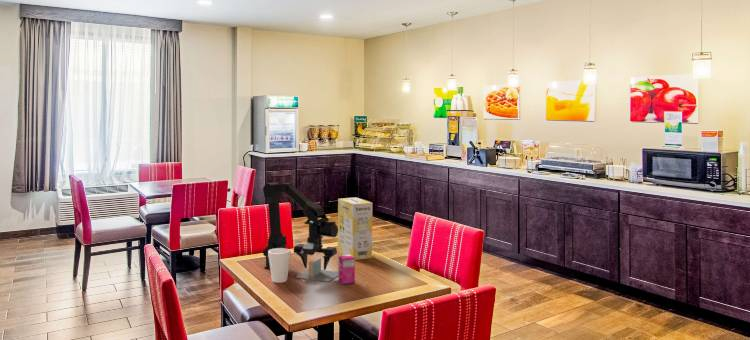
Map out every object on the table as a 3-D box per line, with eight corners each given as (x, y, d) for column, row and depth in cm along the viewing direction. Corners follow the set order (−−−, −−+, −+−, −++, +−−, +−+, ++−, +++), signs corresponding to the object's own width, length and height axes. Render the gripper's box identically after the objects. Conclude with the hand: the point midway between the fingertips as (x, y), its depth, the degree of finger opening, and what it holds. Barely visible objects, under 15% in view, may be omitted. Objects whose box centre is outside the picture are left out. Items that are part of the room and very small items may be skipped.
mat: (295, 278, 234) (295, 277, 234) (309, 269, 247) (309, 268, 247) (329, 282, 229) (329, 281, 229) (341, 273, 242) (341, 272, 242)
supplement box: (337, 281, 231) (337, 255, 230) (350, 279, 233) (350, 254, 232) (342, 285, 225) (342, 258, 224) (355, 283, 228) (355, 257, 227)
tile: (308, 276, 236) (308, 262, 235) (316, 271, 243) (316, 257, 242) (313, 277, 235) (313, 262, 234) (321, 272, 242) (321, 258, 242)
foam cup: (294, 278, 234) (294, 249, 232) (284, 284, 225) (283, 254, 224) (275, 276, 237) (274, 247, 235) (264, 282, 228) (263, 252, 227)
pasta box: (371, 257, 269) (372, 202, 266) (352, 260, 264) (353, 204, 261) (355, 249, 285) (356, 197, 282) (337, 251, 280) (338, 198, 277)
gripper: (287, 236, 232) (287, 271, 234) (327, 240, 226) (327, 276, 228) (299, 231, 243) (299, 265, 244) (337, 234, 237) (337, 269, 239)
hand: (315, 268), depth 239 cm, fingers open, 9 cm apart
